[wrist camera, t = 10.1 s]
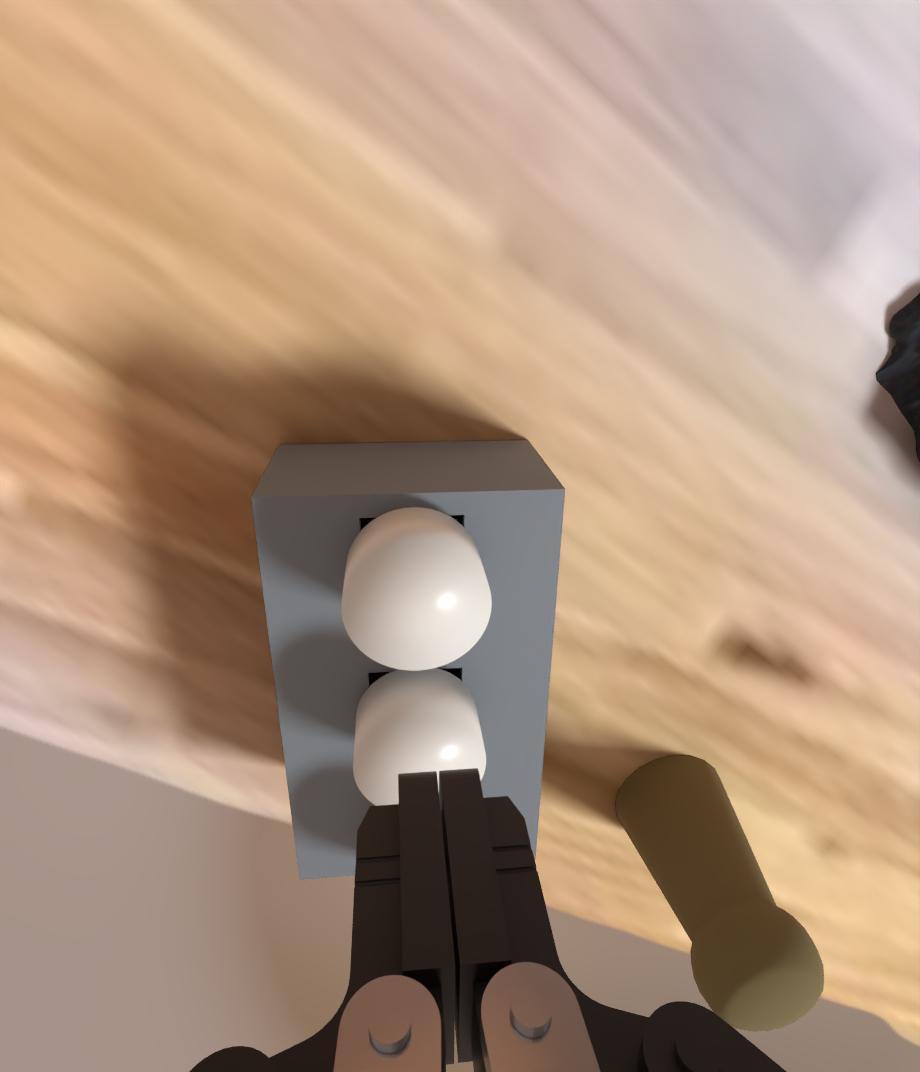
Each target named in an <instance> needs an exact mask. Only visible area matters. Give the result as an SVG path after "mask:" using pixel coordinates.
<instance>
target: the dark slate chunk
mask: <svg viewBox="0 0 920 1072" xmlns="http://www.w3.org/2000/svg"><path fill="white" fill-rule="evenodd" d="M891 337H893V338H895V339H896V340H897V348H895V349H894V350H892V355H891V357H890V358H889V359H888V361H887V362H886V363H885V365H884V366H883V367H882V368H881V369H880V370H879V371H878V372H877V373H876V378H877V381H878V382H879V383H880V384H881V385H882V386H883V387H884V388H885V389H886V390H887V391H888V392H889V393H890V394H891V396H892V398H893V399H894V401H895V403H896V404H897V406H898V407H899V409H900V411H901V412H902V414H903V415H904V416H905V418H906V419H907V421H908V422H909V424H910V425H911V427H912V428H913V430H914V431H915V438H916V451H917V457H918V459H919V461H920V293H919V294H918V295H917V296H916V297H915V298H914V299H913V300H912V301H911V302H910V303H909V304H907V305H906V306H905V307H903V308H902V309H901V310H899V311H898V312H897V313H896V314H895V315H894V316H893V319H892V323H891Z"/></svg>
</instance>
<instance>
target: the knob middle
mask: <svg viewBox="0 0 920 1072" xmlns="http://www.w3.org/2000/svg"><path fill="white" fill-rule="evenodd" d="M473 768H477V769H478V771H479V775H480V781H481V780H482V777H483V775H484V772H485V768H486V753H485V748H484V743H483V738H482V733H481V728H480V723H479V718H478V713H477V708H476V703H475V700H474V697H473V695H472V693H471V691H470V690H469V688H468V687H467V686H466V685H465V683H463V682H462V681H461V680H460V679H459V678H457V677H456V676H454V675H453V674H451V673H449V672H447V671H444V670H441V669H437V668H433V669H428V670H419V671H408V670H400V669H398V670H395V671H393V672H389V673H388V674H386V675H384V676H382V677H381V678H379V679H378V680H376V681H375V682H374V683H373V684H372V685H371V686H370V687H369V688H368V689H367V690H366V691H365V693H364V694H363V696H362V697H361V699H360V701H359V704H358V707H357V712H356V725H355V742H354V758H353V774H354V779H355V782H356V784H357V786H358V788H359V790H360V791H361V793H362V794H363V795H364V796H365V797H366V798H367V799H368V800H369V801H370V802H372V803H373V804H374V805H376V806H380V805H394V804H399V794H398V774H402V773H417V772H432V771H436V772H437V780H438V791H439V771H443V770H458V769H473Z"/></svg>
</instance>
